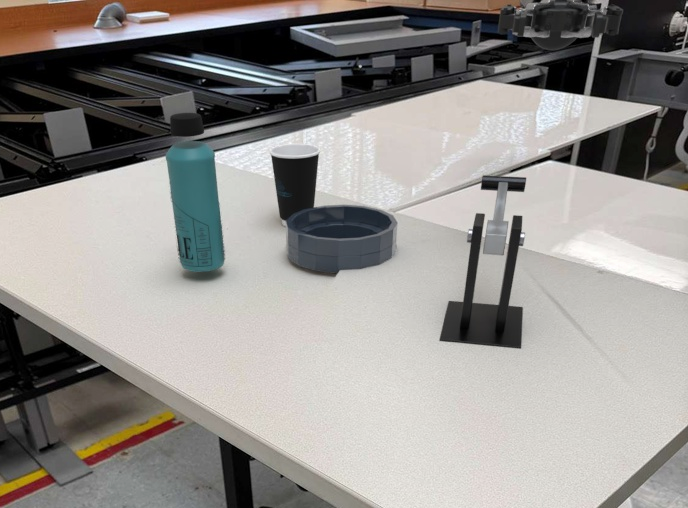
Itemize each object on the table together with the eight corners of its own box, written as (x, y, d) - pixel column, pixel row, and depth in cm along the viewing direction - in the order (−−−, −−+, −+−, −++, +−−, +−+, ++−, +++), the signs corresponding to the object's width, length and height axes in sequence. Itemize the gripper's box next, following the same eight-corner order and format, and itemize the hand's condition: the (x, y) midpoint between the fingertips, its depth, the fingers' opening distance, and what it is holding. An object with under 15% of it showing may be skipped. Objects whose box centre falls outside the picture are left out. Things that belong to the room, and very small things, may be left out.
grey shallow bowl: (383, 236, 111) (385, 202, 108) (404, 273, 99) (407, 237, 96) (283, 241, 110) (282, 207, 107) (292, 279, 98) (291, 243, 95)
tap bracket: (447, 309, 90) (459, 202, 81) (521, 315, 88) (541, 207, 80) (438, 348, 81) (451, 234, 73) (519, 356, 80) (541, 240, 71)
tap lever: (481, 188, 86) (483, 169, 84) (523, 191, 85) (527, 171, 83) (469, 253, 78) (472, 233, 76) (516, 256, 77) (520, 236, 75)
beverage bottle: (235, 269, 101) (222, 110, 89) (211, 286, 97) (194, 121, 84) (195, 263, 103) (177, 106, 91) (171, 279, 99) (148, 117, 86)
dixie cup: (265, 228, 114) (261, 154, 108) (281, 213, 120) (279, 142, 113) (312, 233, 113) (311, 157, 106) (326, 217, 118) (327, 144, 111)
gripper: (506, -23, 94) (502, -14, 82) (620, -23, 91) (633, -14, 79) (498, 45, 99) (492, 62, 87) (606, 46, 96) (615, 65, 84)
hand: (559, 26), depth 83 cm, fingers open, 8 cm apart
